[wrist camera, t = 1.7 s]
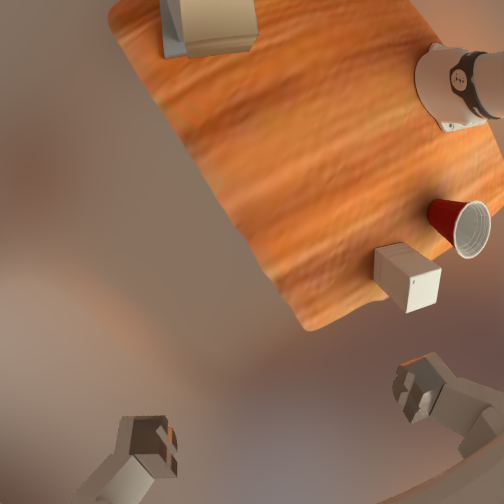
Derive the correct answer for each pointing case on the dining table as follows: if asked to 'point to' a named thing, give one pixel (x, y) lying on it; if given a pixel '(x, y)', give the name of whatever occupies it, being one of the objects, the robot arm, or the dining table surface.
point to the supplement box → (406, 276)
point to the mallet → (218, 26)
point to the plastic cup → (461, 224)
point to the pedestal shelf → (172, 29)
